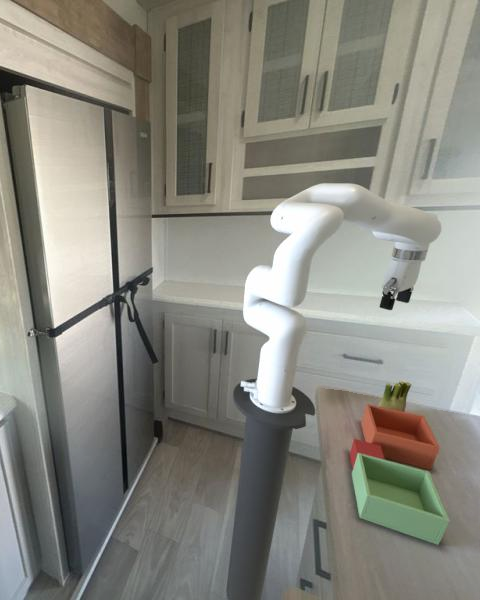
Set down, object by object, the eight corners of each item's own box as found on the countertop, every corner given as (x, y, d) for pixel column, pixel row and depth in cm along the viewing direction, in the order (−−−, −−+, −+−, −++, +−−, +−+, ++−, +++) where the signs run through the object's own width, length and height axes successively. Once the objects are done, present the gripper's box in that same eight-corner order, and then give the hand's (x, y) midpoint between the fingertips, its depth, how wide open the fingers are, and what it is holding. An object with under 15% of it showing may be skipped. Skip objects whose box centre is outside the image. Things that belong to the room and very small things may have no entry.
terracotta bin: (368, 453, 82) (374, 432, 79) (360, 423, 91) (366, 403, 88) (430, 470, 76) (439, 448, 74) (416, 436, 85) (424, 415, 83)
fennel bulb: (375, 420, 91) (386, 384, 87) (373, 409, 95) (383, 374, 91) (404, 427, 88) (417, 390, 84) (400, 415, 92) (412, 380, 87)
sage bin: (359, 517, 68) (367, 495, 66) (351, 473, 77) (357, 452, 75) (438, 545, 62) (450, 521, 60) (419, 494, 72) (429, 471, 69)
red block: (352, 469, 79) (357, 453, 77) (349, 453, 82) (353, 438, 81) (379, 477, 76) (385, 461, 74) (375, 460, 80) (380, 445, 78)
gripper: (408, 247, 107) (394, 295, 113) (378, 257, 101) (365, 307, 107) (439, 251, 100) (422, 302, 107) (409, 261, 94) (393, 315, 101)
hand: (394, 305), depth 107 cm, fingers open, 9 cm apart
